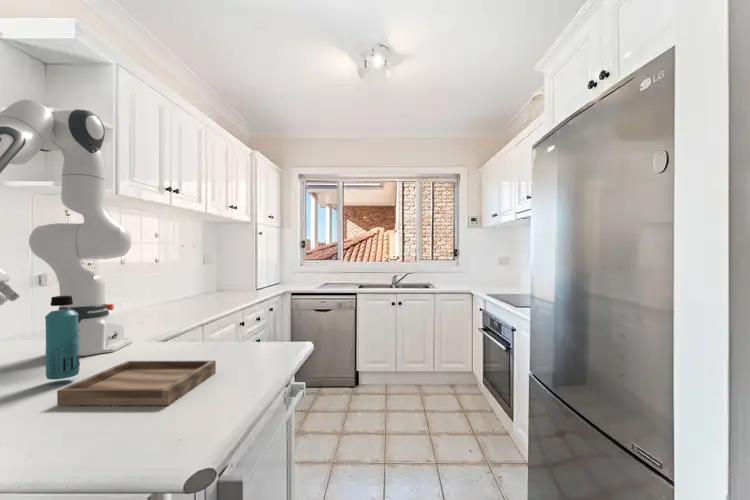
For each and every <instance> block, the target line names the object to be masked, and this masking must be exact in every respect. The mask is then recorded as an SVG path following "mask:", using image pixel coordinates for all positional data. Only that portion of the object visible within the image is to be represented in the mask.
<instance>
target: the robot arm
mask: <svg viewBox="0 0 750 500" xmlns="http://www.w3.org/2000/svg"><path fill="white" fill-rule="evenodd" d="M105 131H106V130H105V127H104V123H103V122H102V120H101V118H100V117H99V116H98V115H97V114H96V113H94V112H93V111H91V110H86V109H79V108H78V109H73V110H72V109H71V110H70V109H69V110H68V109H64V110H63V109H62V110H61V109H60V110H54V111H51V110H50V109H48V107H47V106H45V105H44V104H43V103H42V102H41V103H40V102H38V101H36V100H33V99H20V100H18V101H15V102H13V103H11V104H10V105H8V107H6V108H4V109H3V110H2V111H1V112H0V175H1V174H2V173H3V171H4V170H5V169H7V167H8V166H9V165H16V166H19V165H25V164H27V163H28V162H29V161H31V160H32V159H33V158H35V156H37V155H38V153H40V152H52V151H53V152H55V151H56V152H61V154H62V156H63V164H62V171H61V190H60V191H61V196H60V198H61V199H60V200H61V202H62V204H63V205H64V207H66V208H67V209H69V210H70V211H72V212H74V213H77V214H79V215H82V217H83V222H82V223H81V222H80V223H77V222H76V223H74V222H73V223H70V222H69V223H68V222H67V223H64V222H63V223H62V222H61V223H59V222H58V223H48V224H43V225H38V226H36V227H34V229H33V230H32V231H31V233H30V235H29V238H28V244H29V249H30V250H31V252H32V253H33V254H34V255H35V256H36V257H37V258H39V259H41V260H43V262H45V263H46V264H47V265H48V266H49V267H50V268H51V269H52V270H53V272H54V275H56V278H57V282H58V286H59V288H58V289H59V296H72V301H73V304H72V305H64V306H58V310H74V311H76V312H77V313H78V314H79V316H78V326H79V334H80V335H79V340H80V341H79V348H80V349H79V353H80V356H79V357H84V356H91V355H97V354H105V353H113V352H116V351H117V350H119V349H122V348H123V347H126V346H127V345H129V344H131V343H133V339H132V338H128V337H127V338H126V337H125V330H124V325H123V324H121V323H120V322H118V321H117V320H116V319H114V318H113V317H112V316H111V315H110V312H109V311H113V310H114V308H115V304H114V303H105V302H106V301H105V300H106V298H105V294H106V293H105V291H106V289H105V279H104V278H103V277H102V276H101V275H100V274H99V273H96V272H94V271H92V270H89V269H87V268H85V266H84V264H83V260H110V259H111V260H112V259H116V258H119V257H120V258H121V257H124V256H125V255H126V254H128V252H129V251H130V249H131V247H132V236H131V235H130V232H129V230H127V228H125V227H124V226H123V225H121V224H120V223H119V222H118V221H116V220H115V218H114V217H113V216H112V215H111V213H110V211H109V209H108V206H107V197H106V168H105V167H106V166H105V162H104V156H103V153H102V152H101V150H100V149H101V148H102V146H103V143H104V139H105V133H106V132H105ZM9 281H10V277H9V276H8V274H7V273H6V272H5V271H4V270H3V269H2V268H0V306H3V305H4V304H5V303H6V302H7V301H8V300H9V301H10V302H14V301H17V300H18V299H20V296H21V295H20V294H19V293H18V292H16V291H15V290H14V289H13V288H12V286H11V285H10V284H8V282H9Z"/></svg>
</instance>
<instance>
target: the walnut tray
mask: <svg viewBox="0 0 750 500" xmlns="http://www.w3.org/2000/svg"><path fill="white" fill-rule="evenodd" d="M216 366H217V364H216V360H126V361H125V362H121V363H120V364H118V365H115V366H112V367H110V368H108V369H105V370H103V371H101V372H97V373H95V374H93V375H91V376H88V377H86V378H83V379H82V380H79V381H76V382H75V383H72V384H70V385H68V386H67V385H66V386H65V387H62V388H59V389H57V392H56V395H57V397H56V399H57V402H56V405H57V407H59V406H60V407H77V406H76V405H101V406H100V407H105V406H104V405H107V406H106V407H109V406H108V405H112V406H111V407H119V406H118V405H169V404H170V405H172V404H173V403H174V402H176V401H177V400H179V399H180V398H182V397H183V396H185V395H186V394H188V393H189V392H190V391H192V390H193V389H195V388H196V387H197V386H199V385H200V384H202V383H204V381H206V380H207V379H210V377H212V376H213V375H215V374H216V372H217V371H216V369H217V367H216ZM178 398H179V399H178ZM175 400H176V401H175ZM171 403H172V404H171ZM73 405H74V406H73ZM115 405H116V406H115ZM170 405H169V406H170Z"/></svg>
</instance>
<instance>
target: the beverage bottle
mask: <svg viewBox="0 0 750 500" xmlns="http://www.w3.org/2000/svg"><path fill="white" fill-rule="evenodd" d="M50 299H51V300H50V306H51V307H60V306H64V305H72V304H73V301H72V296H60V295H57V296H51V298H50ZM78 316H79V314H78V313H77V312H76V311H74V310H59V309H57V310H51V311H50V312H48V314H46V315H45V316H44V318H45V360H44V361H45V362H44V363H45V364H44V365H45V372H44V373H45V377H46V379H47V380H63V379H69V378H73V377H75V376H77V375H79V373H80V371H81V370H80V368H81V367H80V365H81V361H80V357H81V356H80V353H79V349H80V348H79V341H80V340H79V335H80V334H79V326H78Z"/></svg>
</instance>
